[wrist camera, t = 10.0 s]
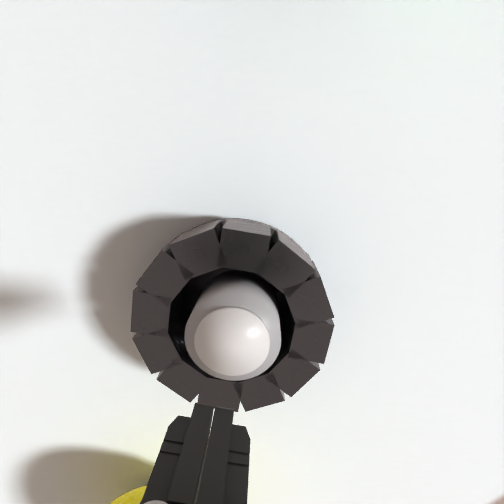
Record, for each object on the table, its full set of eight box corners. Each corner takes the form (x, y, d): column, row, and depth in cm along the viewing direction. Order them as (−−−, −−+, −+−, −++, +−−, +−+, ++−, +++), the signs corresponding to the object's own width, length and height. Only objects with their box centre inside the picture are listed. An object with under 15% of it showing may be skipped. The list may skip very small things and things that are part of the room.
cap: (202, 264, 21) (185, 291, 16) (283, 275, 21) (288, 305, 16) (196, 336, 22) (179, 378, 18) (272, 346, 22) (273, 391, 18)
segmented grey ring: (160, 204, 21) (138, 213, 17) (338, 234, 21) (354, 250, 17) (147, 358, 24) (126, 393, 20) (301, 383, 24) (307, 423, 20)
